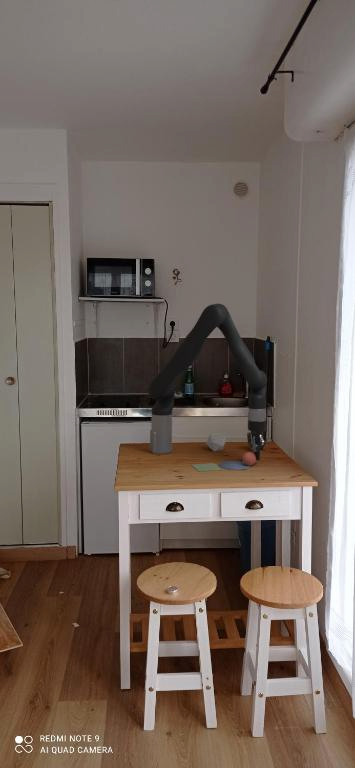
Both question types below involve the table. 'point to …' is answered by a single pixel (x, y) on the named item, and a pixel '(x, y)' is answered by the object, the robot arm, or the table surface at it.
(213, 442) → the die
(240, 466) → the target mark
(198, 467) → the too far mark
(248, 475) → the table surface
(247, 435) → the cup
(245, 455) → the ball
